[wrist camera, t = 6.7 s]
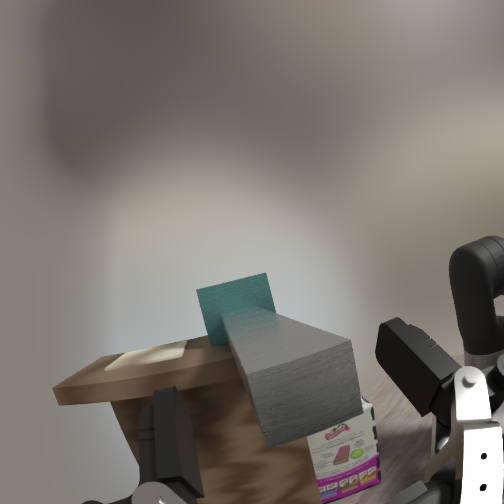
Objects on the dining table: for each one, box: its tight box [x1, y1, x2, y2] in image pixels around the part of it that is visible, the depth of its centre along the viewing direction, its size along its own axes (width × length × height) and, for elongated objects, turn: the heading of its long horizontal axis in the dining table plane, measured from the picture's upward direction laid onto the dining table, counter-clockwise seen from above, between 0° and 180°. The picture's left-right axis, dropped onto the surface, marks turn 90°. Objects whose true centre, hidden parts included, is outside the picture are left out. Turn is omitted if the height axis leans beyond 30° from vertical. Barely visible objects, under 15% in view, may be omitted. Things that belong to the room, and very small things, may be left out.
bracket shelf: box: [53, 335, 322, 504], centre depth 22 cm, size 20×12×32 cm, turn 98°
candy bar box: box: [307, 395, 381, 504], centre depth 33 cm, size 11×5×16 cm, turn 93°
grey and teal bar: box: [196, 273, 363, 449], centre depth 19 cm, size 6×23×5 cm, turn 8°
